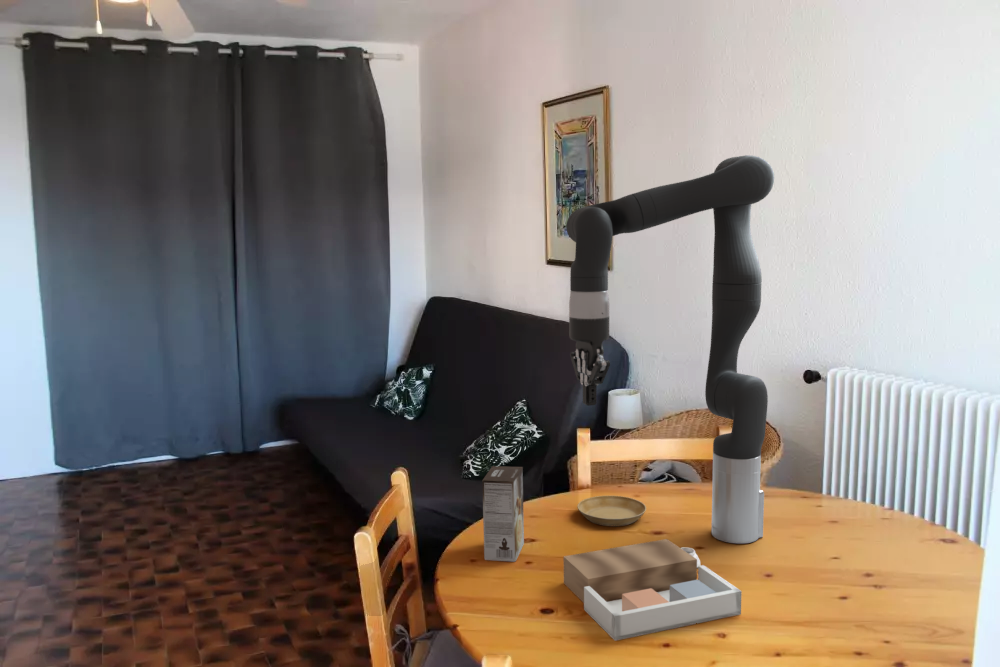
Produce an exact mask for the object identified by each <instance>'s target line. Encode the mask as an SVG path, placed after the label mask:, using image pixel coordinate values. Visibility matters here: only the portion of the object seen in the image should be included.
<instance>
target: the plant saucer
mask: <svg viewBox="0 0 1000 667" xmlns="http://www.w3.org/2000/svg"><path fill="white" fill-rule="evenodd" d="M577 509H578V511H579V512H580V513H581V515H582V516H583V517H584V518H586V519H587V520H588V521H589V522H591V523H593V524H595V525H600V526H604V527H605V526H606V527H622V526H628V525H632V524H634V523H635V522H637V520H640V518H641V517H642V516H643V515H644V514H645V512H646V511H647V506H646V504H645V503H643V501H640V500H638V499H635V498H633V497H628V496H622V495H598V496H592V497H588V498H584V499H582V500H580V501H579V503H578V504H577Z"/></svg>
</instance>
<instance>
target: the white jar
mask: <svg viewBox="0 0 1000 667" xmlns="http://www.w3.org/2000/svg"><path fill="white" fill-rule="evenodd" d="M680 548H681V549H682V550H684V551H685V552H687V553H688V554H690V555H691V556H693V557H694V558H696V559H697V569H698V566H701V559H700V558H699V555H698V554H697V553H696V550H695V549H694V548H692V547H688V546H687V547H684V546H683V547H680Z"/></svg>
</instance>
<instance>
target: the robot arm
mask: <svg viewBox="0 0 1000 667" xmlns="http://www.w3.org/2000/svg"><path fill="white" fill-rule="evenodd" d="M774 183H775V173H774V170H773V168H772V166H771V163H769V162H768V161H767V160H765V159H764V158H762V157H760V156H757V155H746V154H745V155H740V156H733V157H729V158H726V159H724V160H722V161H721V162H720V163H719V164H718V165H717V166H716V168H715V169H714V171H713V172H712V173H709V174H706V175H703V176H699V177H695V178H692V179H688V180H684V181H679V182H674V183H669V184H665V185H660V186H656V187H652V188H649V189H647V188H646V189H645V190H640V191H638V192H634V193H631V194H627V195H625V196H622V197H620V198H617V199H614V200H609V201H604V202H600V203H599V202H598V203H595V204H590V205H587V206H583V207H580V208H577V209H575V210H574V211H572V213H570V215H569V217H568V219H567V220H566V224H565V225H566V226H565V229H566V233H567V235H568V237H569V238H570V240H572V241H573V242H574V243H575V257H574V261H572V263H571V264H570V270H569V271H570V273H569V274H570V279H569V280H570V281H569V282H570V284H569V285H570V291H569V292H570V294H569V302H568V304H569V305H568V310H569V311H568V313H569V314H568V315H569V316H568V317H569V318H568V320H569V322H568V323H569V325H568V326H569V328H568V330H569V331H568V333H569V339H570V340H572V341H574V342H576V343H575V351H570V352H569V356H570V360H571V363H572V366H573V370H574V373H575V376H576V379H577V381H578V380H579V381H580V384H581V385H582V404H583V405H586V406H596V404H597V386H599V385H602V384H603V382H604V381H605V379H606V376H607V373H608V371H609V368H610V366H611V362H610V359H609V360H605V358H604V352H605V351H604V347H603V342H604V341H607V340H609V338H610V298H609V271H608V270H609V269H608V266H609V261H610V255H611V250H612V244H613V237H614V236H617V235H621V234H632V233H636V232H641V231H644V230H647V229H650V228H654V227H656V226H661V225H663V224H667V223H669V222H673V221H676V220H679V219H681V218H685V217H687V216H690V215H693V214H697V213H700V212H705V211H709V210H712V209H713V224H714V225H713V226H714V239H713V264H712V266H713V268H712V269H713V270H712V271H713V272H712V291H711V300H712V301H711V304H712V305H711V307H712V308H711V314H712V315H711V329H710V330H711V333H710V335H711V336H710V345H709V346H710V348H709V357H708V363H707V370H706V379H705V391H704V392H705V395H704V396H705V404H706V406H707V408H708V410H709V412H710V413H711V414H713V415H715V416H718V417H721V418H725V419H729V420H732V428H731V429H732V430H731V432H728V433H727V432H726V433H724V434H720V435H719V434H718V435H717V436H716V437H715V438H714V439H713V443H712V444H713V445H712V484H711V485H712V487H711V488H712V489H711V490H712V491H711V493H712V494H711V495H712V496H711V535H712V537H713V538H714V539H717V540H718V541H721V542H725V543H730V544H749V543H754V542H756V541H758V539H759V538H763V537H764V508H765V507H764V506H765V492H764V490H762V489H761V462H762V461H761V459H762V448H763V447H762V446H763V445H764V441H765V437H766V428H767V427H766V425H767V416H768V404H769V403H768V402H769V396H768V389H767V385H766V384H765V382H764V380H762V379H761V378H759V377H758V376H754V375H750V374H749V375H748V374H744V373H739V372H738V368H737V367H738V357H739V356H738V355H739V350H740V347H741V344H742V341H743V339H744V337H745V336H746V334H747V333H748V331H749V330H750V328H751V326H752V325H753V324H754V321H755V320H756V318H757V317H758V314H759V312H760V309H761V302H762V269H761V263H760V261H759V258H758V254H757V251H756V248H755V246H754V241H753V237H752V232H751V216H752V214H751V211H752V205H754V204H757V203H758V202H760V201H762V200H764V199H765V198H766V197H767V196H768V195H769V194H770V192H771V191H772V189H773V187H774Z"/></svg>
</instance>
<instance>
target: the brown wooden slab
mask: <svg viewBox="0 0 1000 667" xmlns="http://www.w3.org/2000/svg"><path fill="white" fill-rule="evenodd" d="M681 548H682V547H679V546H678V545H677V544H675V543H674V542H672V541H670V540H669V539H668V538H664V539H658V540H653V541H647V542H646V541H645V542H642V543H641V542H640V543H634V544H629V545H623V546H617V547H613V548H612V547H611V548H610V547H609V548H605V549H601V550H600V549H599V550H594V551H586V552H582V553H575V554H570V555H564V556H563V584H564V585H565V586H566V587H567V588H568V589H569V590H570V591H571V592H572V593H573V594H574V596H576V597H577V598H578V599H579V600H580V601H581V602H582V603H583V604H584V587H586V586H590V587H591V588H592V589H593V590H594V591H595V592H597V593H598V594H599V595H600V596H601V597H602V598H603V599H604V600H605V601H606V602H609V601H614V600H619V599H622V594H625V593H630V592H635V591H640V590H645V589H650V588H652V589H653V590H654V591H656V592H661V591H666V590H670V585H673V584H678V583H683V582H688V581H693V580H698V577H697V576H698V574H697V573H698V570H697V569H698V568H697V559H696V558H694V557H693V556H691V555H690V554H688V553H687V552H685V551H684V550H682V549H681Z"/></svg>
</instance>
